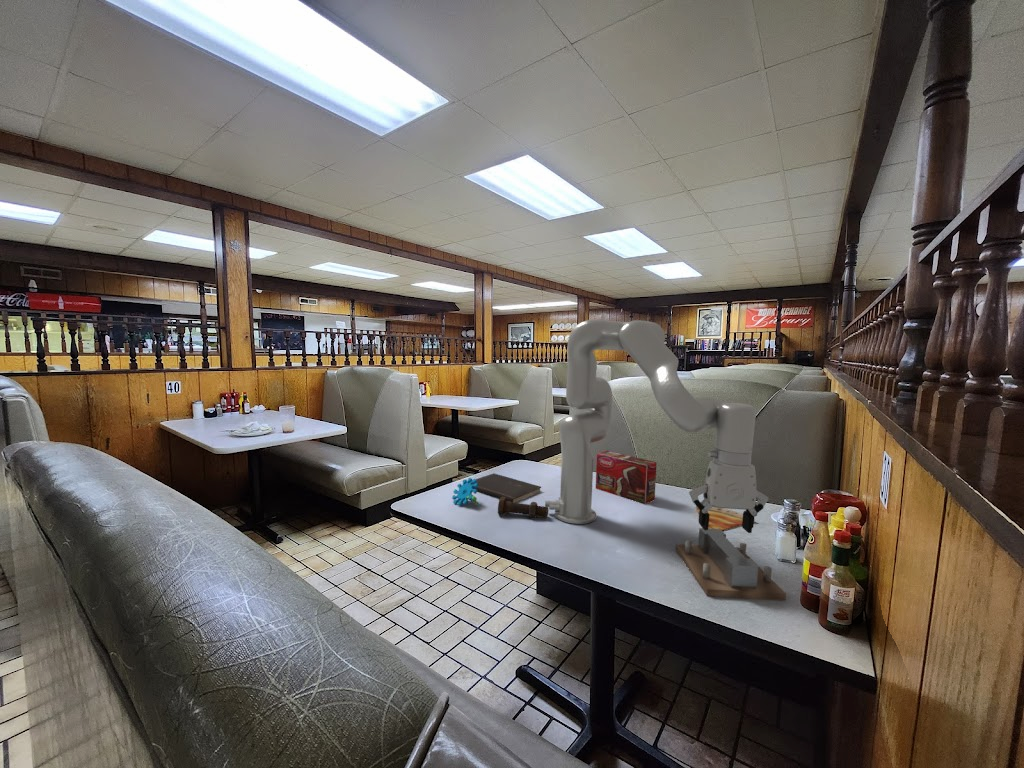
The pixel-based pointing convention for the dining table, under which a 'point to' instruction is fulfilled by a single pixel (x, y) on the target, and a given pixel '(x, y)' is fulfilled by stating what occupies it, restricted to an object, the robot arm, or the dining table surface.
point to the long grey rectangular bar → (728, 559)
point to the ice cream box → (626, 476)
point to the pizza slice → (723, 518)
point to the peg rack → (714, 578)
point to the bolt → (521, 508)
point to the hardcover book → (505, 487)
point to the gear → (465, 492)
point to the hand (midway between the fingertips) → (725, 529)
